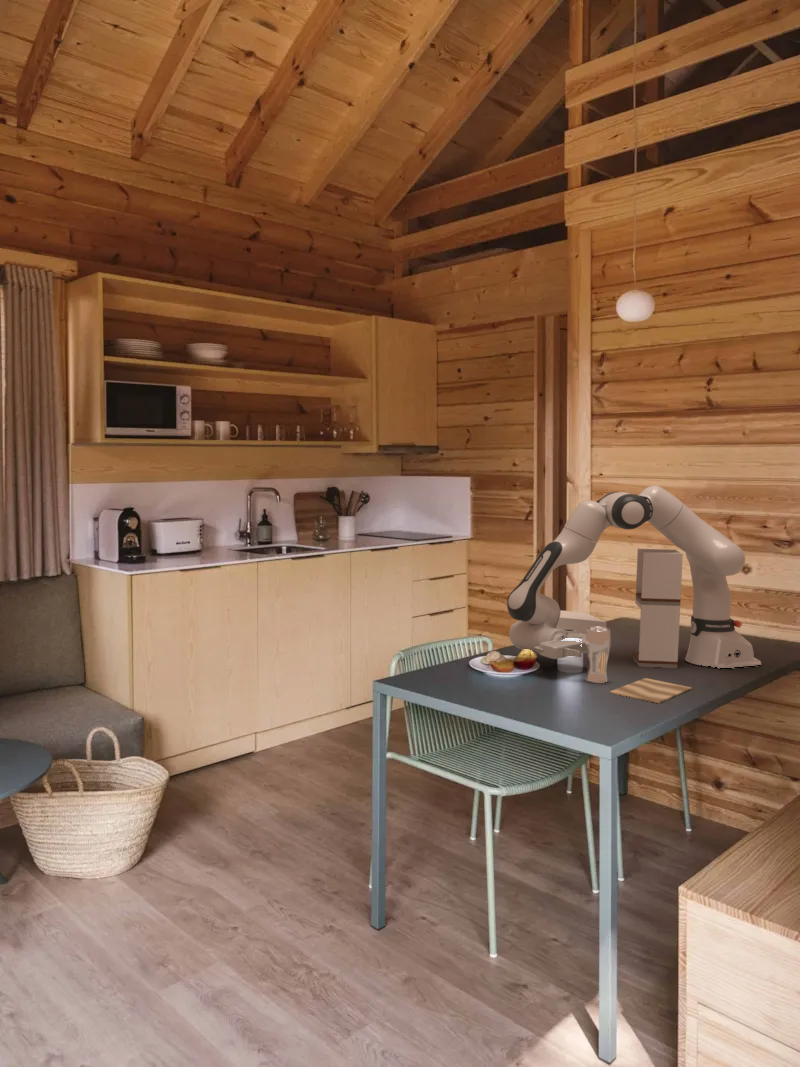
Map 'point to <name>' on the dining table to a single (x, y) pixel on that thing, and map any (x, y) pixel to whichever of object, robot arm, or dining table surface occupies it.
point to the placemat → (651, 690)
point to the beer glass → (597, 653)
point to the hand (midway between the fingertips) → (591, 651)
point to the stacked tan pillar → (658, 606)
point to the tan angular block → (578, 621)
